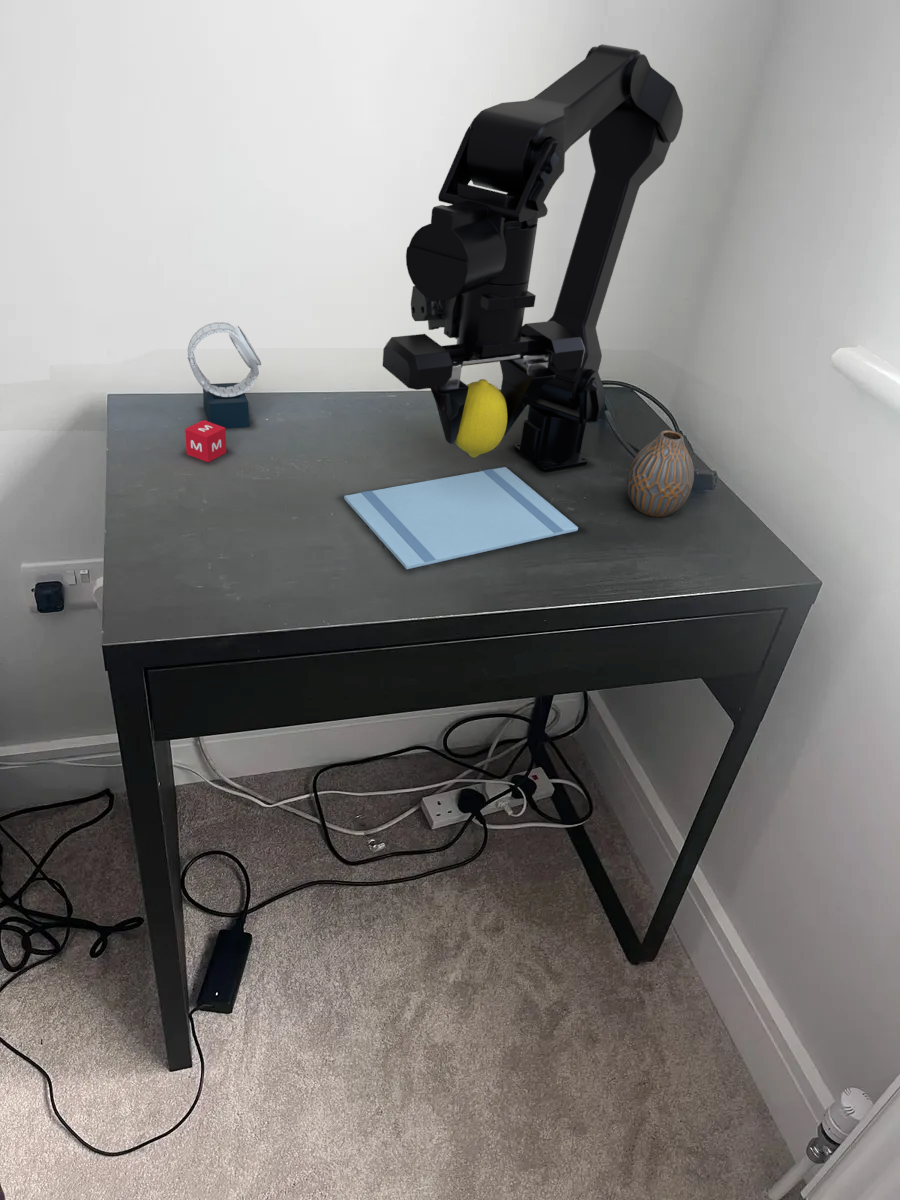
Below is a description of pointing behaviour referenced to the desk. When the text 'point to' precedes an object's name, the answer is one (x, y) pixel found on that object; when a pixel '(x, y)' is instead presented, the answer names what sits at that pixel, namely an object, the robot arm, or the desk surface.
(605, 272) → the robot arm
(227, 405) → the watch
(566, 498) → the desk surface
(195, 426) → the red letter cube
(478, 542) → the cloth
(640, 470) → the vase
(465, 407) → the lemon
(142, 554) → the desk surface
